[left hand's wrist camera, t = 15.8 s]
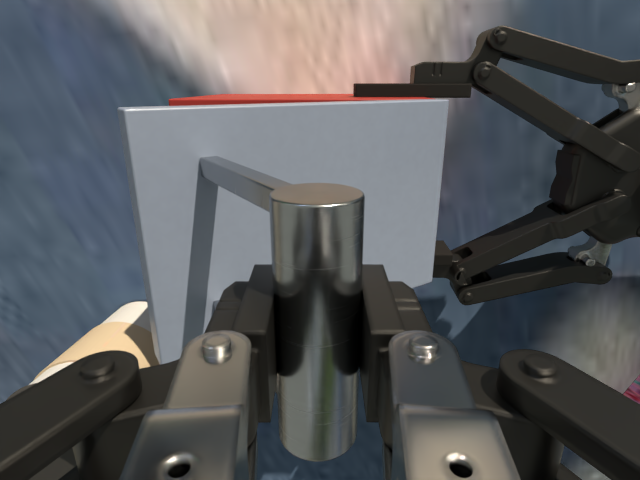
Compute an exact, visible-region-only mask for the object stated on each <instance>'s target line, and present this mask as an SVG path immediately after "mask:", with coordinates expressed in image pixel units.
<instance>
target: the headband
mask: <svg viewBox="0 0 640 480" xmlns="http://www.w3.org/2000/svg"><path fill="white" fill-rule="evenodd" d="M623 395H625V396H626V397H628V398H630V399H632V400H633V401H635V402H637V403H639V404H640V375H639V376H638V378H637V379H636V380H635V381H634V382H633V383H632V384H631V386H630V387H629V388H628V389H627V390H626V392H625V393H624V394H623Z"/></svg>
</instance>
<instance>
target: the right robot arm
mask: <svg viewBox="0 0 640 480" xmlns="http://www.w3.org/2000/svg"><path fill="white" fill-rule="evenodd" d="M500 58H503V59H507V60H510V61H513V62H517V63H520V64H523V65H527V66H530V67H533V68H537V69H540V70H544V71H547V72H550V73H554V74H557V75H560V76H564V77H567V78H571V79H574V80H577V81H581V82H585V83H591V84H603V85H602V91H603V92H604V94H605V95H606V96H607V97H610V98H614V99H616V100H617V101H618V104H619V108H618V109H616V110H614V111H613V112H611V113H610V114H608V115H606V116H605V117H603V118H602V119H600V120H599V121H597V122H596V123H594V124H591V123H589V122H587V121H584V120H582V119H580V118H578V117H576V116H574V115H573V114H571V113H570V112H568V111H566V110H565V109H563V108H562V107H560V106H558V105H557V104H555V103H554V102H552V101H551V100H549V99H547V98H546V97H544V96H543V95H541V94H539V93H538V92H536V91H535V90H533V89H531V88H530V87H528V86H527V85H525V84H524V83H522V82H520V81H519V80H517V79H516V78H514V77H512V76H511V75H509V74H508V73H506V72H504V71H503V70H501V69H500V68H498V67H496V66H497V64H498V61H499V59H500ZM471 87H473V88H474V89H476V90H478V91H479V92H481V93H483V94H484V95H486V96H487V97H489V98H491V99H492V100H494V101H496V102H497V103H499V104H500V105H502V106H504V107H505V108H507V109H509V110H510V111H512V112H513V113H515V114H517V115H518V116H520V117H522V118H523V119H525V120H526V121H528V122H530V123H531V124H533V125H535V126H536V127H538V128H539V129H541V130H543V131H544V132H546V133H547V135H549V136H550V137H552V138H553V139H555V140H557V141H558V142H560V143H562V144H563V145H564V146H563V148H562V150H558V151H557V157H556V173H557V174H556V177H555V179H554V181H553V183H552V185H551V190H550V195H549V197H550V198H551V200H549V201H547V202H545V203H543V204H541V205H539V206H537V207H535V208H534V210H533V212H531V213H529V214H527V215H525V216H523V217H521V218H519V219H516V220H514V221H512V222H510V223H508V224H506V225H504V226H502V227H500V228H497V229H495V230H493V231H491V232H489V233H487V234H485V235H483V236H481V237H479V238H476V239H474V240H472V241H470V242H468V243H466V244H464V245H462V246H460V247H457V248H455V249H453V250H451V251H450V250H449V248H448V247H447V245H446V244H445V243H444V241H436V243H435V254H434V265H433V275H432V277H433V278H447V279H449V280H450V285H451V287H452V289H453V291H454V293H455V294H456V296H457V298H458V299H459V301H460V303H462V304H463V305H472V304H476V303H481V302H485V301H490V300H494V299H499V298H504V297H508V296H513V295H517V294H522V293H527V292H531V291H536V290H540V289H545V288H550V287H554V286H559V285H563V284H568V283H573V282H579V283H590V284H605V283H607V282H608V281H610V279H611V278H612V271H611V270H610V269H609V268H607V267H606V266H605V264H606V261H607V258H608V255H609V252H610V249H611V246H612V244H615V243H618V242H621V241H623V240H625V239H628V238H632V237H640V60H629V61H620V60H617V59H613V58H610V57H607V56H603V55H600V54H597V53H593V52H590V51H587V50H584V49H580V48H577V47H574V46H570V45H567V44H564V43H560V42H557V41H554V40H550V39H547V38H544V37H540V36H537V35H534V34H530V33H527V32H524V31H521V30H517V29H514V28H511V27H507V26H498V27H495V28H492V29H489V30H487V31H484V32H482V33H481V34H480V35H479V36H478V38H477V41H476V47H475V49H474V51H473V54H472V55H471V57H470V58H469V59H468V60H467V61H465V62H422V63H419V64H416V65H414V66H412V67H411V75H410V84H354V97H426V98H470V96H471ZM581 231H584V232H585V233H586V234H587V235H589V236H590V238H589V240H588V241H587V242H586V243H585V244H583V245H580V246H571V247H570V248H569V249H568V252H557V253H550V254H545V255H541V256H536V257H532V258H527V259H523V260H519V261H514V262H510V263H505V264H501V263H503V262H505V261H507V260H509V259H512V258H514V257H516V256H518V255H520V254H523V253H525V252H527V251H529V250H531V249H534V248H536V247H538V246H540V245H542V244H544V243H547V242H549V241H551V240H553V239H557V238H560V239H563V238H567V237H570V236H572V235H574V234H576V233H578V232H581ZM499 264H501V265H499ZM496 265H497V266H496Z"/></svg>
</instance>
